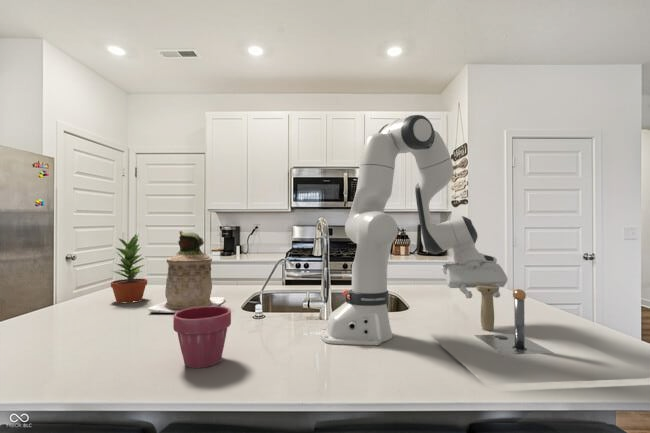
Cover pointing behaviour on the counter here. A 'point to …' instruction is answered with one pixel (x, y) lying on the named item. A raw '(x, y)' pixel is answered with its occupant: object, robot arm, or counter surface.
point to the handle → (487, 306)
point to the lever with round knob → (519, 318)
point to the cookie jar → (188, 278)
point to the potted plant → (129, 274)
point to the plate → (511, 344)
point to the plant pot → (202, 334)
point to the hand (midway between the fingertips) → (483, 296)
